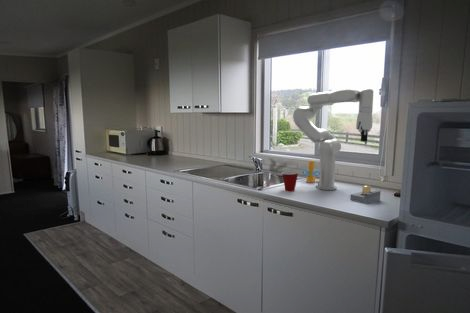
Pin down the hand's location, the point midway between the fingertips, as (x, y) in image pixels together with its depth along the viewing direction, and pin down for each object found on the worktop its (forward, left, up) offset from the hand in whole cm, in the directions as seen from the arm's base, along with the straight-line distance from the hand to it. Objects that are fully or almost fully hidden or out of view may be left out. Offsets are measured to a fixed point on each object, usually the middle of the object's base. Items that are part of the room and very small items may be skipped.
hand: (363, 141), depth 194 cm
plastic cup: (-32, -29, -32) cm, 54 cm away
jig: (+10, -11, -32) cm, 35 cm away
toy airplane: (-42, +3, -32) cm, 53 cm away
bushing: (+10, -11, -32) cm, 35 cm away
